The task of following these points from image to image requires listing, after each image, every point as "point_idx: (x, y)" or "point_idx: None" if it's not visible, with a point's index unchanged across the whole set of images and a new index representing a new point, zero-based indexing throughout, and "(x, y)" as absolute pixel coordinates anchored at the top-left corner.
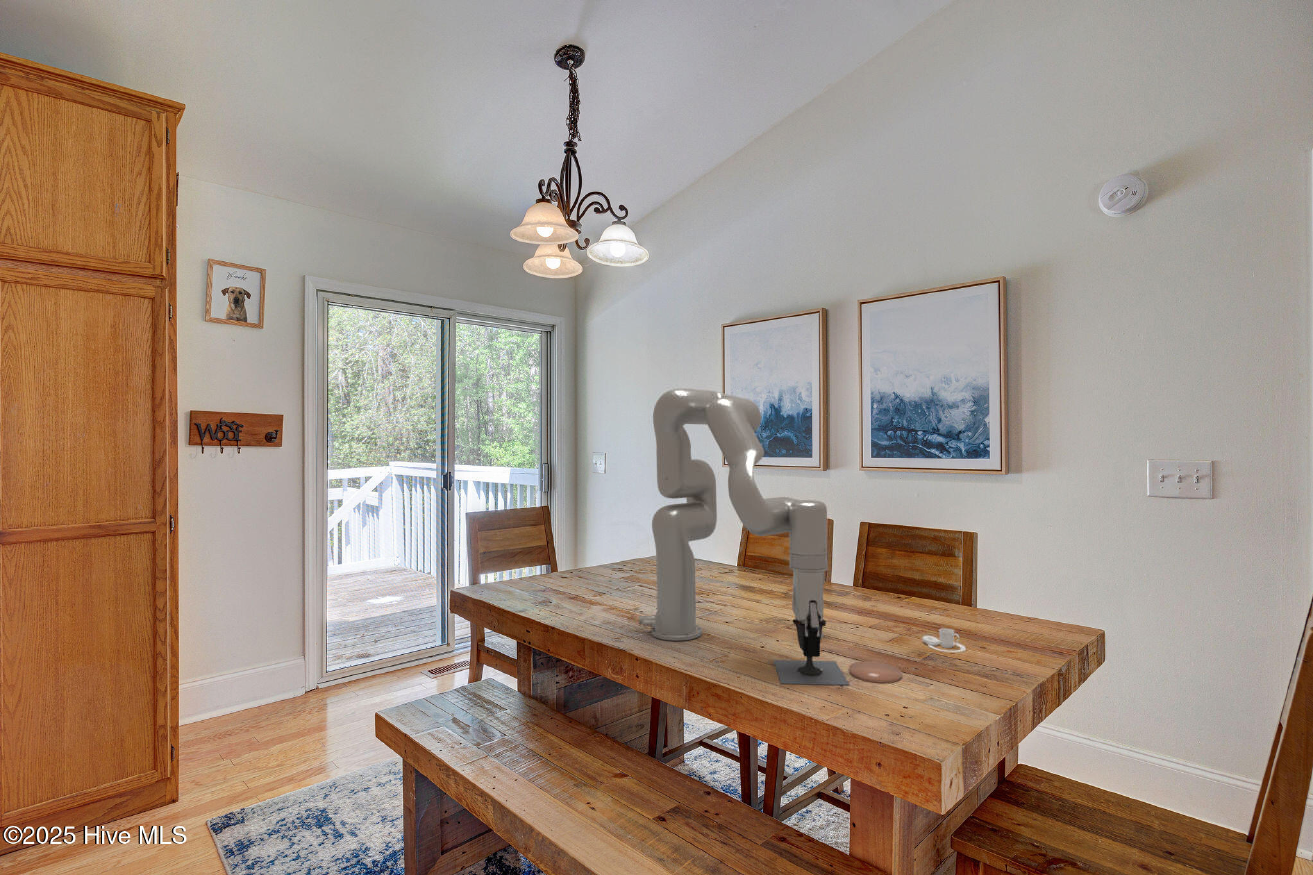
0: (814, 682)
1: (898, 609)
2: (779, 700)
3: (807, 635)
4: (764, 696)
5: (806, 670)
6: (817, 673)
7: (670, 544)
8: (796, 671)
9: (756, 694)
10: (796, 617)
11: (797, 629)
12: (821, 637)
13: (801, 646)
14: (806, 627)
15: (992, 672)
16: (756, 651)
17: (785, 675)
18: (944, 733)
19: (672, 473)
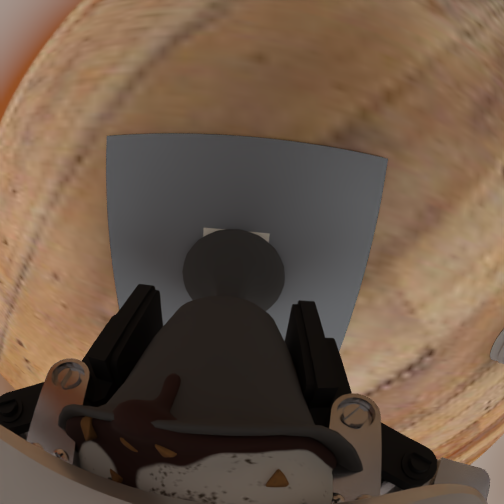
0: (123, 263)
1: (492, 438)
2: (13, 130)
3: (57, 375)
4: (33, 85)
5: (205, 264)
6: (192, 297)
7: None
8: (234, 223)
9: (46, 60)
10: (28, 462)
11: (175, 373)
12: (491, 355)
13: (187, 305)
14: (41, 416)
15: None
16: (480, 132)
17: (186, 164)
18: (9, 373)
19: None
